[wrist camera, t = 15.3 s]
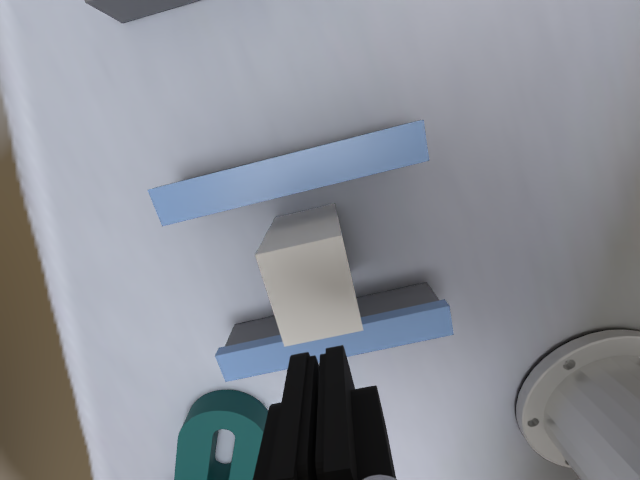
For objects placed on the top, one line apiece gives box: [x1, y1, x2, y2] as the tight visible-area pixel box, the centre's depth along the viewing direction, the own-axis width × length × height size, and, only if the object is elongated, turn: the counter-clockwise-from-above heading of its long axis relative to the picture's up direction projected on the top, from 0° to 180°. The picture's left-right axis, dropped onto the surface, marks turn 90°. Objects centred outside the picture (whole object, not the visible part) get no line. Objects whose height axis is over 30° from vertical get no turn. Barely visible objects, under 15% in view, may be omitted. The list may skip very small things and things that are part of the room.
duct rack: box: [85, 0, 454, 382], centre depth 17 cm, size 14×33×4 cm, turn 14°
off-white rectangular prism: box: [255, 203, 363, 347], centre depth 19 cm, size 4×5×7 cm
